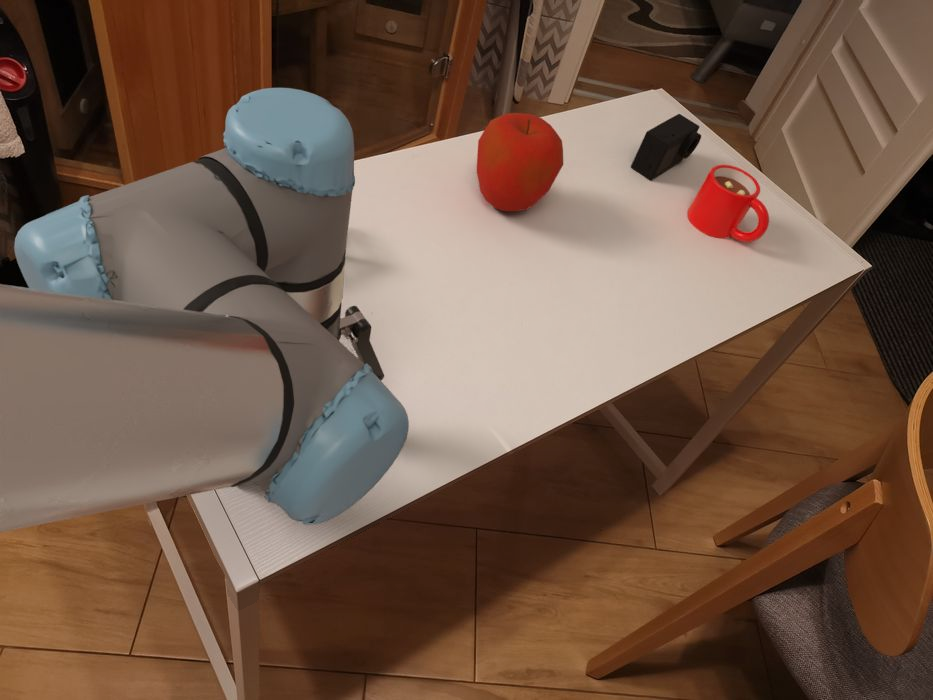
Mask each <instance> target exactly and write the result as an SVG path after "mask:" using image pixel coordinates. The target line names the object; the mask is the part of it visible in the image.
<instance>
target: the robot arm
mask: <svg viewBox="0 0 933 700" xmlns="http://www.w3.org/2000/svg"><path fill="white" fill-rule="evenodd" d="M224 123H225V126H224V128H225V129H224V131H223V133H222V138H223V140H222V141H223V146H224V148H221V149H220V150H217V151H214V152H210V153H208V154H205V155H202V156H200V157H199V158H198V159H197V160H194V161H191V162H188V163H185V164H182V165H179V166H176V167H173V168H171V169H168V170H164V171H162V172H159V173H155V174H153V175H150V176H148V177H147V176H146V177H144V178H141V179H139V180H135V181H133V182H130V183H127V184H123V185H121V186H118V187H115V188H111V189H109V190H107V191H106V190H105V191H102V192H100V193H98V194H94V195H91V196H90V194H87V195H83V196H81V197H80V198H79V200H78V201H76V202H73V203H72V204H68V205H66V206H63V207H61V208H59V209H56V210H54V211H51V212H49V213H46V214H45V215H43V216H41V217H39V218H36V219H33V220H31V221H29V222H27V223H25V224H24V225H22V226H21V227H20V229H19V230H17V234H16V236H15V238H14V246H13V247H14V256H15V259H16V262H17V264H18V267H19V270H20V272H21V274H22V277H23V278H24V281H25V282H26V285H27V287H24V286H16V285H9V284H2V283H0V533H5V532H10V531H15V530H20V529H25V528H30V527H36V526H40V525H45V524H50V523H54V522H60V521H66V520H70V519H76V518H79V517H85V516H91V515H95V514H101V513H106V512H111V511H115V510H121V509H126V508H130V507H136V506H140V505H145V504H151V503H155V502H160V501H165V500H170V499H175V498H181V497H187V496H191V495H196V494H201V493H206V492H211V491H216V490H220V489H226V488H235V487H236V488H237V487H241V486H246V485H251V484H256V485H258V486H259V487H260V488H261V489H262V491H263V492H264V493H265V494H264V498H265V500H266V501H267V502H268V503H271V504H275V505H277V506H278V507H279V508H280V509H281V510H282V511H283V512H284V513H285V514H286V515H287V516H288V517H289V518H290V519H291V520H293V521H295V522H298V523H299V522H300V523H302V524H303V525H305V526H306V525H309V526H313V525H318V524H322V523H325V522H328V521H330V520H332V519H334V518H336V517H338V516H340V515H341V514H343V513H344V512H346V511H347V510H348V509H350V508H351V507H353V506H354V505H355V504H357V503H358V502H359V501H361V499H362V498H364V497H365V496H366V495H367V494H368V493H369V492H370V491H371V490H372V489H373V488H374V487H375V486H377V484H378V483H379V482H380V480H381V479H382V478H383V477H384V476H385V474H386V473H388V471H389V469H390V468H391V467H392V466H393V464H394V463H395V461H396V459H397V458H398V457H399V456H400V454H401V452H402V450H403V448H404V446H405V443H406V441H407V438H408V433H409V428H410V427H409V426H410V421H409V415H408V412H407V410H406V408H405V406H404V405H403V404H402V402H401V401H400V400H399V399H398V398H397V397H396V396H395V395H394V394H393V392H392V391H390V389H389V388H388V387H387V386H386V385H385V384H384V382H382V381H383V380H384V378H385V374H384V371H383V369H382V366H381V364H380V362H379V359H378V356H377V354H376V352H375V350H374V348H373V345H372V343H371V340H370V339H371V333H372V325H371V324H370V322H369V321H368V320H367V318H366V317H365V316H364V314H363V313H362V311H361V310H360V309H359V307H358V306H357V305H351V306H349V307H348V308H347V309H346V310H345V312H344V317H341V316H342V304H343V303H342V300H343V298H344V287H345V286H344V285H345V283H344V282H345V268H346V254H347V253H346V252H347V242H348V233H349V223H350V216H351V206H352V198H353V191H354V188H355V184H356V176H355V140H354V132H353V128H352V126H351V123H350V121H349V119H348V117H346V115H345V114H344V112H342V111H341V110H340V109H339V108H337V107H335V106H334V105H333V104H332V103H331V102H330V101H329V100H328V99H325V98H323V97H322V96H319V95H318V94H316V93H312V92H309V91H305V90H303V89H297V88H291V87H269V88H268V87H267V88H261V89H257V90H254V91H251V92H249V93H247V94H244V95H242V96H241V97H240V99H239V101H238V102H237V103H236V104H234V105H232V106H231V107H230V108H229V109H228V111H227V114H226V117H225V122H224ZM342 336H344V338H345V339H346V340H349V341H350V343H351V346H352V347H353V350H354V352H355V354H356V355H355V354H354V353H353V352H352V351H351V350H349V349H348V347H346V346H345V345H344V343H342V342H341V341H340V340H341V337H342Z"/></svg>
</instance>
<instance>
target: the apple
mask: <svg viewBox="0 0 933 700" xmlns="http://www.w3.org/2000/svg"><path fill="white" fill-rule="evenodd" d="M476 156H477V157H476V175H477V176H476V177H477V180H478V186H479V190H480V193H481V195H482V197H483V198H484V200H485V201H486V202H487V203H488V204H489V205H490V206H492V207H493V208H495V209H497V210H499V211H502V212H518V211H525V210H528V209H530V208H532V207H534V206H535V205H536V204H537V203H538V202H539V201H540V200H541V199H542V198H543V197H544V196H545V195H547V193H548V192H550V190H551V188H552V186H553V185H554V183H555V181H556V178H557V177H558V176H559V174H560V172H561V170H562V168H563V166H564V146H563V140H562V138H561V137H560V135H559V134H558V133H557V131H556V130H555V129H554V127H553V126H552V125H551V124H550V123H548V121H546V120H545V119H543V118H542V117H539V116H537V115H534V114H530V113H525V112H524V113H523V112H508V113H504V114H501V115H499V116H496V117H495V118H492V119H491V120H490V121H489V122H488V124H487V126H486V127H485V128H484V130H483V132H482V134H481V135H480V137H479V138H478V141H477V155H476Z"/></svg>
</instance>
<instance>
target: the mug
mask: <svg viewBox="0 0 933 700" xmlns="http://www.w3.org/2000/svg"><path fill="white" fill-rule="evenodd" d="M760 194H761V186H760V184H759V181H757V179H756V178H755V177H754V176H753V175H752V174H750V173H749V172H747V171H746V170H745V169H742V168H740V167H737V166H734V165H731V164H730V165H729V164H718V165H715V166H713V167H712V168H711V169H710V170H709V172H708V174H707V175H706V178H705V180H704V181H703V183H702V185H701V186H700V188H699V190H698V192H697V194H696V195H695V197H694V198H693V200H692V202H691V204H690V205H689V207H688V209H687V212H686V217H687V219H688V221H689V222H690V224H691V225H692V226H693V227H694V228H695V229H696V230H698V231H699V232H701V233H703V234H705V235H707V236H709V237H712V238H716V239H717V238H718V239H727V238H729V237H732V238H733V239H735V240H737V241H739V242H743V243H751V242H755V241H757V240H759V239H760V238H762V237H763V236H764V235H765V233H766V232H767V230H768V229H769V225H770V215H769V212H768V209H767V207H766V205H765V204H764V203H763V202H762V201H761V200H760V199H758V197H759V195H760ZM750 209H752V210H753V211H754V212H755V213H756V215H757V218H758V219H757V220H758V223H757V226H756V228H755V229H754V230H752V231H750V232H749V231H742V230H741V229H740V228H738V227H739V226H740V224H741V223H742V221H743V220H744V218H745V217H746V215H747V214H748V212H749V211H750Z"/></svg>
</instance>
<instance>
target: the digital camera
mask: <svg viewBox="0 0 933 700" xmlns="http://www.w3.org/2000/svg"><path fill="white" fill-rule="evenodd" d="M699 129H700V125H699V124H697V123H695V122H694V121H692V120H691V119H689V118H687V117H686V116H684V115H682V114H681V113H678V114H675V115H674V116H672V117H670V118H668V119H666V120H665V121H663V122H661V123H659V124H658V125H656V126H654V127H653V128H651V129H649V130H647V131H646V132H645V134H644V137H643V139H642V141H641V143H640V145H639V148H638V149H637V152H636V154H635V156H634V158H633V161H632V163H631V165H630V168H631V169H632V170H634V171H635V172H637V173H639V174H640V175H642V176H643V177H644V178H645V179H647V180H649V181H653V180H655V179H656V178H658V177H659V176H661V175H663V174H664V173H666V172H667V171H669V170H670V169H672V168H674V167H675V166H677V165H679V164H680V163H682V162H683V161H684V159H688V158H689V157H690V156H691V155H692V154H693V152H694V151H695V150H696V148H697V147H698V146H699V144H700V142H701V139H702V134H701V133H699V132H698V131H699Z"/></svg>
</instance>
